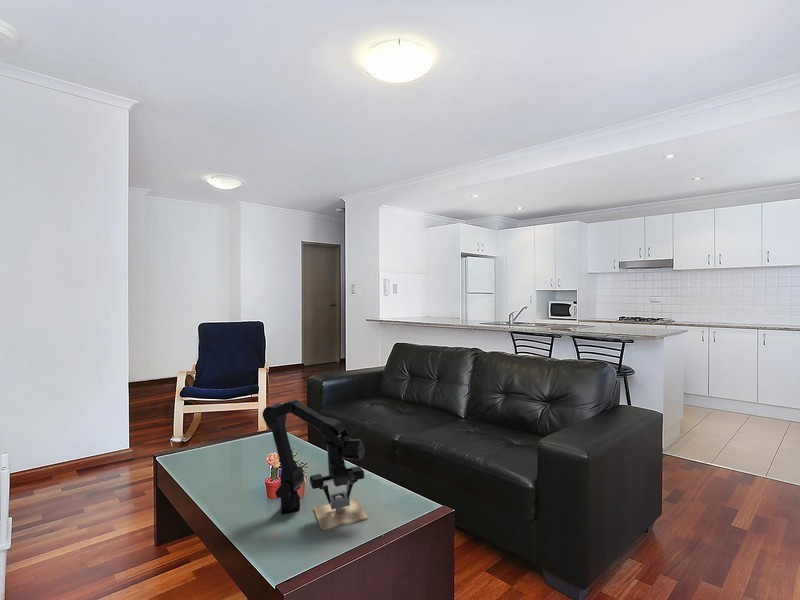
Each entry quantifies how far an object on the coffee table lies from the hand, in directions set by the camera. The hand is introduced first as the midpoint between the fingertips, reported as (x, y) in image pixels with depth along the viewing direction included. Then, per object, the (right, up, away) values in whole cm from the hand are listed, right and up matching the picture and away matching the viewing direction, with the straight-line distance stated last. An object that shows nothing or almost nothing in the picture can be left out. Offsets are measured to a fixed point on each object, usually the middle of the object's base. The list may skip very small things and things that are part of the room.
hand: (338, 500), depth 160 cm
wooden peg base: (0, -5, 0) cm, 5 cm away
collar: (0, -1, 0) cm, 1 cm away
